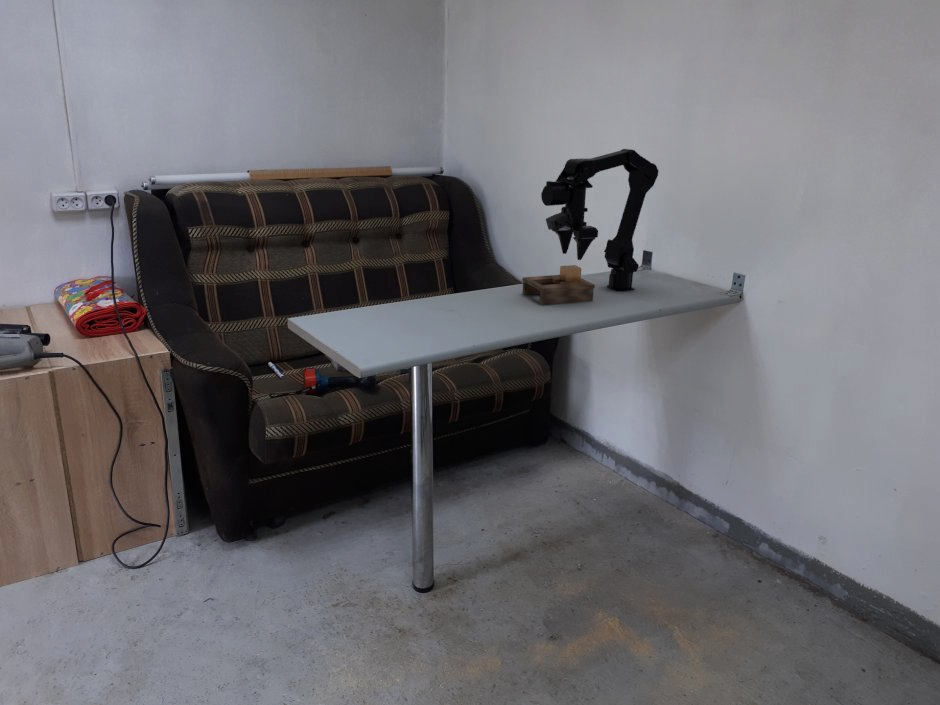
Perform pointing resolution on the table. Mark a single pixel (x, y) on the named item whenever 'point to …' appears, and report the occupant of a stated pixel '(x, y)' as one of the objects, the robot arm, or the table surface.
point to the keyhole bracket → (558, 289)
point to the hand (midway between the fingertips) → (571, 256)
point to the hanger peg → (570, 273)
